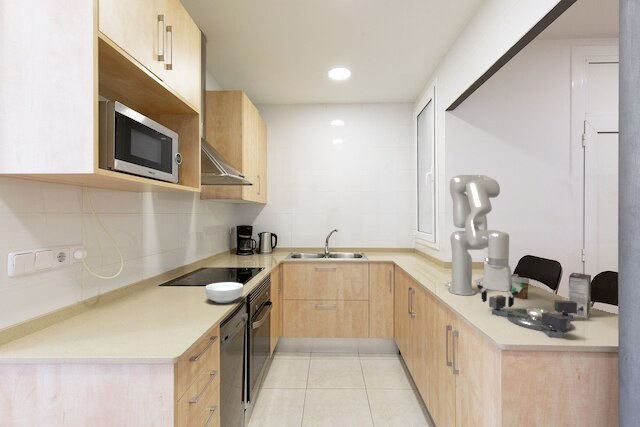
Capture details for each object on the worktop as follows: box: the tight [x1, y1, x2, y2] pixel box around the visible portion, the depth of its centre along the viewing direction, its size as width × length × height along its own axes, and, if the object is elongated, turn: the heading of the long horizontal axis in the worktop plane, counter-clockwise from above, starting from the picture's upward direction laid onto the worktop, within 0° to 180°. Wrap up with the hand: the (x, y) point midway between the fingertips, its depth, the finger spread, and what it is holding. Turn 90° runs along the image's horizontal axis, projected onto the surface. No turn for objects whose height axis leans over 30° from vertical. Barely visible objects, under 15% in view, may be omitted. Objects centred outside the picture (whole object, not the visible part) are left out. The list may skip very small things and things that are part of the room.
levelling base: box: [491, 299, 577, 339], centre depth 128 cm, size 26×30×7 cm
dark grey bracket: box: [488, 294, 507, 309], centre depth 136 cm, size 6×4×4 cm
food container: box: [512, 273, 530, 300], centre depth 164 cm, size 12×6×10 cm, turn 172°
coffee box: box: [568, 272, 592, 319], centre depth 137 cm, size 9×6×16 cm
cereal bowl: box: [204, 281, 244, 304], centre depth 151 cm, size 17×17×7 cm
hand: (497, 303), depth 136 cm, fingers open, 9 cm apart
